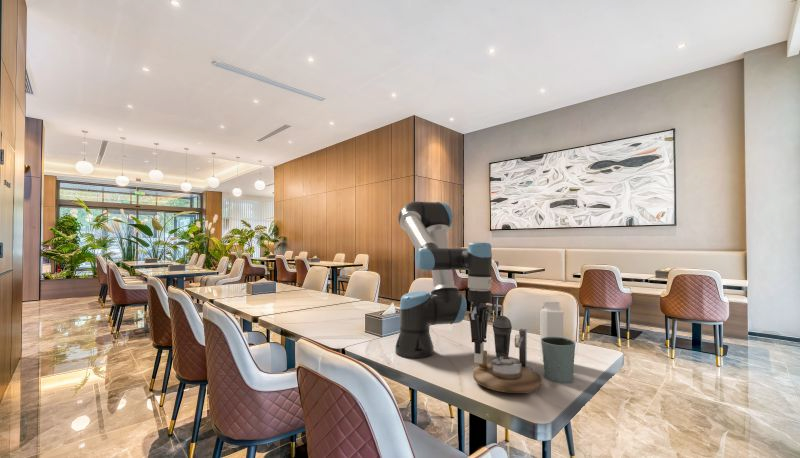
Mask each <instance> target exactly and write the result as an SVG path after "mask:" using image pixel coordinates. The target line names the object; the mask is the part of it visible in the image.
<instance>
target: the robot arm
mask: <svg viewBox="0 0 800 458" xmlns="http://www.w3.org/2000/svg"><path fill="white" fill-rule="evenodd" d="M398 223H399V226H400V228H401V229H402V230H403V231H405V232H406V234H407V236H408V238H409V240H410V241H411V243H412V245H413V247H414V249H415V251H416V252H415V254H414V262H415V266H416V268H417V269H418V270H419V271H431V274H432V275H431V276H432V284H433V289H431V291H430V292H429V291H426V290H422V291H419V290H418V291H411V292H408V293H404V294H403V295H402V296H401V297H400V304H399V334H398V337H397V340H396V344H395V346H394V347H395V350H394V351H395V355H396V354H397V355H398V356H400V357H404V358H409V359H422V358H423V359H424V358H427V357H431V356H432V355H434V352H435V351H434V350H435V349H434V347H435V346H434V344H433V340H432V337H431V334H430V326H431V325H434V326H435V325H448V324H449V325H452V324H459V323H462V321H463V320H464V319H465V317H466V314H467V306H468V305H467V303H468V302H470V303H472V307H471V312H469V313H468V318H469V324H470V325H469V326H470V334H471V335H470V337H471V343H473V344H474V354H473V355H474V356H473V357H474V358H473V363H475V364H478V365H479V364H483V363H484V348H485V347H484V345H485V343H487V331H488V319H489V313H490V309H489V308H488V307H487V303H488V304H489V303H491V302H492V291H491V289H492V283H493V282H494V281H493V280H492V261H493V253H492V245H491V243H489V242H480V241H479V242H469V243H468V247H466V248H465V247H464V248H463V247H460V248H454V247H453V248H451V247H450V248H449V241H448V234H447V233H448V232H449V230H450V228H451V227H452V225H453V212H452V209H451V207H450V206H449V204H447V203H446V202H440V201H436V202H433V201H418V200H417V201H411V202H409V203H406V204H405V205H404V206H403V207H402V208H401V209H400V211H399V213H398ZM454 270H456V271H457V270H458V271H461V270H463V271H465V270H467V288H468V290H467V298H466V297H465V295H464V294H463V293H460V289H459V288H458V287H457V286H456V285H455V281H454V273H453V271H454ZM467 300H468V302H467Z"/></svg>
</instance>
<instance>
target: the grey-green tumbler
mask: <svg viewBox="0 0 800 458" xmlns="http://www.w3.org/2000/svg"><path fill="white" fill-rule="evenodd" d="M541 344H542V353H543V361H542V362H543V371H544V372H543V373H544V377H545V378H546V379H547V380H549V381H551V382H555V383H559V384H570V383H572V382H573V381H574V370H575V369H574V368H575V365H574V364H575V357H576V342H575V341H574V340H572V339H570V338H565V337H564V338H561V337H545V338H542V339H541Z"/></svg>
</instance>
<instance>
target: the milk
mask: <svg viewBox="0 0 800 458" xmlns="http://www.w3.org/2000/svg"><path fill="white" fill-rule="evenodd" d="M539 326H540V327H539V332H540V334H539V337H540V338H539V343H540V344H539V346H540V347H539V348H540V350H539V352H540V353H539V354H540V355H539V357H540V361H541V362H543V353H542V344H541V339H542V338H545V337H561V338H565V337H564V332H565V331H564V311H563V309H562V308H561V306H560V302H559V301H543V306H542V307H541V308H540V309H539Z"/></svg>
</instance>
